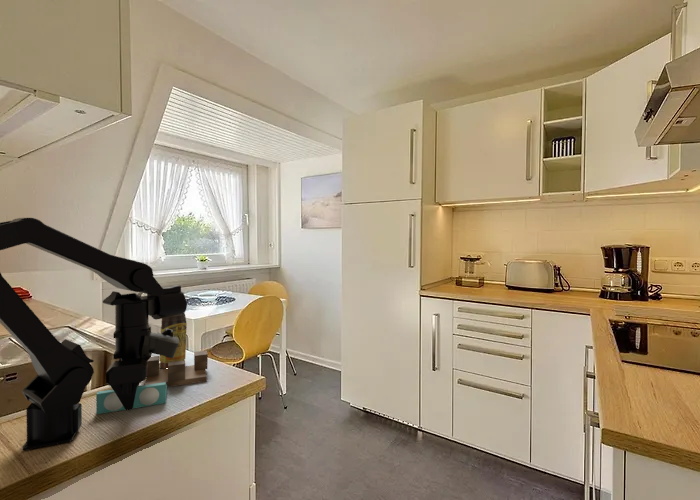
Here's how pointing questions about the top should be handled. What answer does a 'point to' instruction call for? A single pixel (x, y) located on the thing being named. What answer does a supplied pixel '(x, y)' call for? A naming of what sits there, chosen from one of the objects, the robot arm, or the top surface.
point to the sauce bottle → (179, 331)
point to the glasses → (144, 397)
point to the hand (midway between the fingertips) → (132, 399)
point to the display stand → (178, 371)
